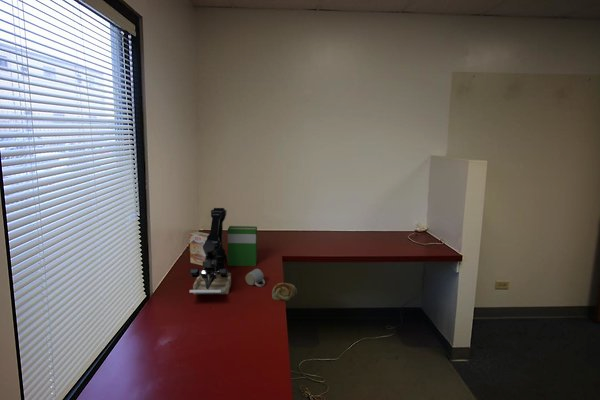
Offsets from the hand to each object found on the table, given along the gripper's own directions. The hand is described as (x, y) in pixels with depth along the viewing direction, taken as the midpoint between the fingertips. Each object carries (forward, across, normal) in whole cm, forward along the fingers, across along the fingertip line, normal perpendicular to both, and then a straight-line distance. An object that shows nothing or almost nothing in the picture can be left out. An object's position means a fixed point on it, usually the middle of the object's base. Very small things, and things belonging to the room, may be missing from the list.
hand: (207, 288), depth 183 cm
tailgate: (-1, 0, +8) cm, 8 cm away
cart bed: (-6, 0, +15) cm, 16 cm away
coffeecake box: (-32, -13, +42) cm, 55 cm away
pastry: (+1, +39, +9) cm, 40 cm away
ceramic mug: (-10, +23, +20) cm, 32 cm away
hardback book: (-32, +13, +42) cm, 54 cm away
